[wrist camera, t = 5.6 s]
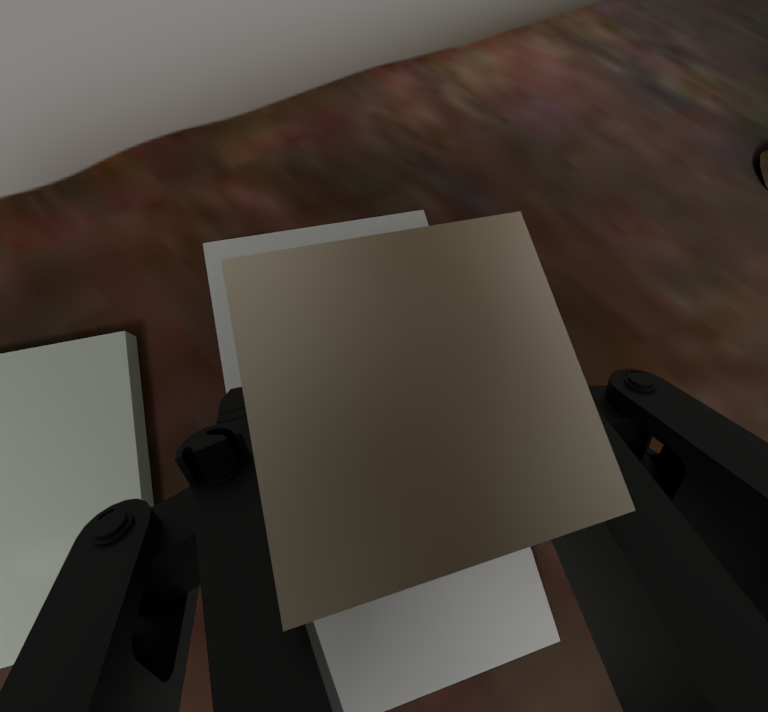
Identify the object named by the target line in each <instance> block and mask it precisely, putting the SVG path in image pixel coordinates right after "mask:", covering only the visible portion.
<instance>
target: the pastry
mask: <svg viewBox="0 0 768 712" xmlns="http://www.w3.org/2000/svg"><path fill="white" fill-rule="evenodd" d="M760 168H761V172H762V175H763V179H764V183H765V185H766V187H767V188H768V150H766V151H764V152H763V153H762V154H761V155H760Z"/></svg>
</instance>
